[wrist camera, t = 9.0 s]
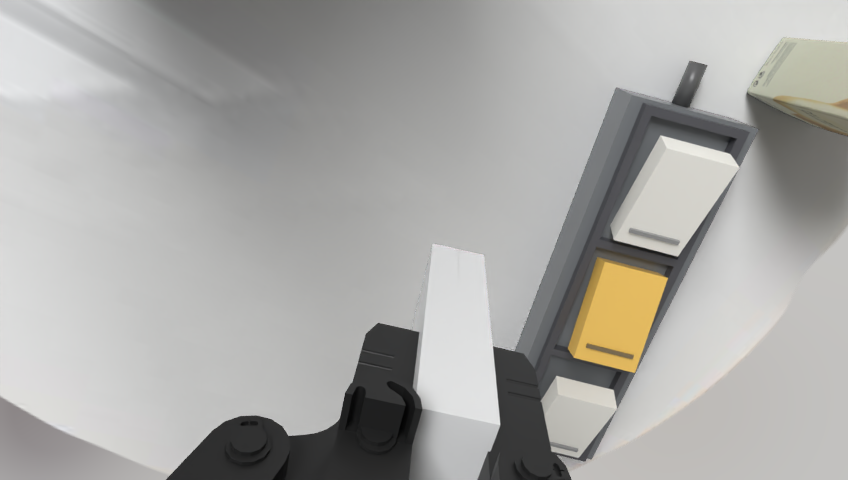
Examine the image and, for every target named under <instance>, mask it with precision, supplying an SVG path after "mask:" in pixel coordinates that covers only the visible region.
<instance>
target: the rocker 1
mask: <svg viewBox="0 0 848 480" xmlns="http://www.w3.org/2000/svg"><path fill="white" fill-rule="evenodd" d="M540 402H542V406H543V411H544V416H545V421H546V426H547V431H548V436H549V441H550V446H551V451H552V452H556V453H560V454H564V455H568V456H573V457H577V458H579V457H580V456H581V454H582V453H583V452H584V451H585V449H586V448H587V447H588V445H589V444H590V443H591V442H592V440H593V439H594V438H595V437H596V435H597V434H598V433H599V432H600V430H601V429H602V428H603V427H604V425H605V424H606V423H607V422H608V420H609V419H610V418H611V416H612V415H613V414H614V413H615V411H616V410H617V406H616V400H615V395H614V390H611V389H607V388H603V387H599V386H595V385H591V384H587V383H583V382H579V381H575V380H571V379H567V378H563V377H559V376H556V377H555V379H554V381H553V382H552V384H551V385H550V387H549V389H548V390H547V392H546V393H545V395H544V397H543V398H542V400H541V401H540Z"/></svg>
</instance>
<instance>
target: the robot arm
mask: <svg viewBox="0 0 848 480" xmlns="http://www.w3.org/2000/svg"><path fill="white" fill-rule="evenodd" d="M540 401H541V396H540V392H539V389H538V382H537V377H536V372H535V369H534V367H533V366H532V364H531V363H530V362H529V360H528V359H527V357H526V356H525V355H524V353H519V352H515V351H510V350H506V349H501V348H496V347H493V343H492V332H491V322H490V311H489V301H488V290H487V280H486V269H485V259H484V255H482V254H478V253H474V252H469V251H465V250H460V249H456V248H452V247H447V246H443V245H438V244H434V243H433V244H432V248H431V252H430V256H429V260H428V264H427V268H426V272H425V276H424V280H423V284H422V288H421V292H420V296H419V299H418V303H417V307H416V311H415V315H414V319H413V324H412V330H408V329H403V328H399V327H394V326H390V325H385V324H380V323H378V324H377V325H375V326H374V327H373V328H372V329H371V330H370V331H369V332H368V333H367V334H366V336H365V340H364V343H363V347H362V351H361V354H360V358H359V361H358V365H357V369H356V372H355V376H354V379H353V383H351V384H350V386H349V388H348V389H347V391H346V393H345V397H344V402H343V407H342V412H341V417H340V419H339V421H338V422H337V423H336V424H334V425H333V426H331V427H330V428H328V429H327V430H324V431H321V432H319V433H315V434H308V435H297V436H288V435H287V433H286V432H285V430H284V428H283V427H282V426H281V425H279V424H278V423H276V422H274V421H273V420H271V419H268V418H264V417H260V416H240V417H237V418H234V419H231V420H228V421H225V422H224V423H222V424H221V425H220V426H218V427H217V428H216V429H214V430H213V431H212V432H211V433H210V434H209V435H208V436H207V437H206V438H205V439H204V440H203V441H202V442H201V443H200V445H199V446H198V447H197V448H196V449H195V450H194V451H193V452H192V453H191V454H190V455H189V456H188V457H187V458H186V459H185V460H184V461H183V462H182V463H181V464H180V466H179V467H178V468H177V469H176V470H175V471H174V472H173V473H172V474H171V475H170V476H169V477H168V478H167V479H166V480H571V477H570V475H569V472H568V470H567V468H566V466H565V465H564V463H563V462H562V461H561V460H560V459H559V458H558V457H557V455H555V454H554V453H553V452H552V451H551V446H550V441H549V436H548V431H547V426H546V421H545V416H544V411H543V406H542V402H540Z"/></svg>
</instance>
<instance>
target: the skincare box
mask: <svg viewBox="0 0 848 480" xmlns="http://www.w3.org/2000/svg"><path fill="white" fill-rule="evenodd" d="M747 93H748V94H750V95H751V96H753V97H755V98H757V99H758V100H760V101H762V102H764V103H766V104H768V105H770V106H772V107H774V108H776V109H778V110H780V111H782V112H784V113H786V114H788V115H790V116H793V117H795V118H797V119H799V120H802V121H804V122H806V123H808V124H811V125H813V126H816V127H819V128H822V129H826V130H828V131H832V132H835V133H838V134H842V135H845V136H848V43H847V42H835V41H823V40H810V39H798V38H786V37H785V38H782V40H781V41H780V43H779V44H778V45H777V47H776V48H775V50H774V51H773V52H772V54H771V55H770V57H769V58H768V60H767V61H766V63H765V64H764V66H763V67H762V69H761V70H760V71H759V73H758V75H757V76H756V78H755V79H754V81H753V82H752V84H751V86H750V87H749V89H748V91H747Z"/></svg>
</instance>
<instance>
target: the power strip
mask: <svg viewBox="0 0 848 480" xmlns="http://www.w3.org/2000/svg"><path fill="white" fill-rule="evenodd" d="M706 68H707V65H704V64H701V63H697V62H693V61H689V64H688V66H687V68H686V71H685V73H684V75H683V78H682V80H681V82H680V85H679V87H678V89H677V92H676V94H675V96H674V99H673V101H672V102H669V101H665V100H661V99H658V98H654V97H650V96H646V95H643V94H639V93H635V92H632V91H628V90H624V89H620V88H617V87H616V89H615V92H614V94H613V97H612V100H611V102H610V105H609V107H608V110H607V113H606V115H605V118H604V120H603V123H602V126H601V128H600V131H599V133H598V136H597V139H596V141H595V144H594V146H593V149H592V152H591V154H590V157H589V159H588V162H587V165H586V167H585V170H584V172H583V175H582V178H581V180H580V183H579V185H578V188H577V191H576V193H575V196H574V199H573V201H572V204H571V206H570V209H569V212H568V214H567V217H566V219H565V222H564V225H563V227H562V230H561V232H560V235H559V238H558V240H557V243H556V245H555V248H554V251H553V253H552V256H551V258H550V261H549V264H548V266H547V269H546V271H545V274H544V277H543V279H542V282H541V284H540V287H539V290H538V292H537V295H536V298H535V300H534V303H533V305H532V308H531V311H530V313H529V316H528V318H527V321H526V324H525V326H524V329H523V331H522V334H521V337H520V339H519V342H518V344H517V347H516V350H515V352H519V353H524V355H525V356H526V357H527V359H528V360H529V362H530V363H531V364H532V366H533V367H534V369H535V372H536V377H537V382H538V389H539V392H540V396H541V400H542V398H543V397H544V395H545V393H546V392H547V390H548V389H549V387H550V385H551V384H552V382H553V381H554V379H555V377H556V376H559V377H563V378H567V379H571V380H575V381H579V382H583V383H587V384H591V385H595V386H599V387H603V388H607V389H611V390H614V395H615V400H616V406H617V408H618V406H619V404H620V402H621V400H622V398H623V396H624V394H625V392H626V390H627V388H628V386H629V384H630V382H631V380H632V378H633V377H634V375H635V373H636V371H637V369H638V367H639V365H640V363H641V361H642V359H643V357H644V355H645V353H646V351H647V349H648V347H649V345H650V343H651V341H652V339H653V337H654V335H655V333H656V331H657V329H658V327H659V325H660V323H661V321H662V319H663V317H664V315H665V313H666V311H667V309H668V307H669V305H670V303H671V302H672V300H673V298H674V296H675V294H676V292H677V290H678V288H679V286H680V284H681V282H682V280H683V278H684V276H685V274H686V272H687V270H688V268H689V266H690V264H691V262H692V260H693V258H694V256H695V254H696V252H697V250H698V248H699V246H700V244H701V242H702V240H703V238H704V236H705V234H706V232H707V230H708V228H709V226H710V225H711V223H712V221H713V219H714V217H715V215H716V213H717V211H718V209H719V207H720V205H721V203H722V201H723V199H724V197H725V195H726V193H727V191H728V189H729V187H730V185H731V183H732V181H733V179H734V177H735V175H736V174H735V175H734V177H733V178H732V179H731V181H730V182H729V184H728V185H727V187H726V188H725V189H724V191H723V192H722V194H721V195H720V197H719V198H718V200H717V201H716V202H715V204H714V205H713V207H712V208H711V210H710V211H709V212H708V214H707V215H706V217H705V218H704V220H703V221H702V222H701V224H700V225H699V227H698V228H697V230H696V231H695V233H694V234H693V235H692V237H691V238H690V240H689V241H688V243H687V244H686V245H685V247H684V248H683V250H682V251H681V253H680V254H679V256H674V255H670V254H666V253H662V252H658V251H654V250H651V249H647V248H643V247H639V246H635V245H631V244H627V243H623V242H620V241H616V240H614V239H613V235H612V231H611V227H610V225H611V223H612V221H613V219H614V217H615V216H616V214H617V212H618V210H619V208H620V207H621V205H622V203H623V201H624V200H625V198H626V196H627V194H628V192H629V191H630V189H631V187H632V185H633V183H634V182H635V180H636V178H637V176H638V175H639V173H640V171H641V169H642V167H643V166H644V164H645V162H646V160H647V158H648V157H649V155H650V153H651V151H652V150H653V148H654V146H655V144H656V142H657V141H658V139H659V137H660V135H661V136H665V137H669V138H673V139H676V140H680V141H684V142H688V143H691V144H695V145H699V146H703V147H706V148H710V149H714V150H718V151H721V152H725V153H729V154H731V156H732V157H733V159H734V160H735V161H736V163H737V164H738V166H739V167H740V165H741V163H742V161H743V159H744V157H745V155H746V153H747V151H748V150H749V148H750V146H751V144H752V142H753V140H754V138H755V136H756V134H757V132H758V130H759V129H758V128H755V127H753V126H750V125H747V124H745V123H742V122H740V121H737V120H734V119H732V118H728V117H725V116H721V115H717V114H713V113H710V112H706V111H702V110H699V109H695V108H691V107H689V106H690V104H691V101H692V99H693V97H694V95H695V92H696V90H697V88H698V86H699V83H700V81H701V79H702V77H703V74H704V72H705V70H706ZM736 173H737V172H736ZM597 257H600V258H604V259H608V260H611V261H615V262H619V263H623V264H627V265H631V266H635V267H639V268H643V269H646V270H650V271H654V272H658V273H660V274H661V275H663V276H665V277H667V278H668V280H667V282H666V285H665V288H664V291H663V294H662V297H661V300H660V302H659V305H658V308H657V311H656V314H655V317H654V320H653V323H652V325H651V328H650V331H649V334H648V337H647V340H646V343H645V346H644V348H643V351H642V354H641V357H640V360H639V363H638V366H637V368H636V371H635V373H633V372H629V371H625V370H621V369H617V368H613V367H609V366H605V365H601V364H597V363H593V362H589V361H585V360H581V359H577V358H574V357H573V356H572V354H571V353H570V351H569V350H568V346H569V343H570V340H571V337H572V334H573V331H574V327H575V324H576V321H577V318H578V315H579V312H580V309H581V306H582V303H583V299H584V296H585V293H586V290H587V287H588V284H589V281H590V278H591V275H592V272H593V268H594V265H595V262H596V259H597ZM615 412H616V411H615ZM614 414H615V413H614ZM614 414H613V415H612V416H611V418H610V419H609V420H608V422H607V423H606V424H605V425H604V427H603V428H602V429H601V430H600V432H599V433H598V434H597V435H596V437H595V438H594V439H593V440H592V442H591V443H590V444H589V445H588V447H587V448H586V449H585V451H584V452H583V453H582V454H581V456H580V457H579V458H577V457H573V456H568V455H564V454H560V453H556V452H553V453H554V454H556V455H561V456H565V457H569V458H573V459H577V460H581V461H586V459H587V458H588V459H592V457H593V455H594V453H595V452H596V450H597V448H598V446H599V444H600V442H601V440H602V438H603V436H604V434H605V432H606V430H607V428H608V426H609V424H610V422H611V420H612V418H613V416H614Z"/></svg>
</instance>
